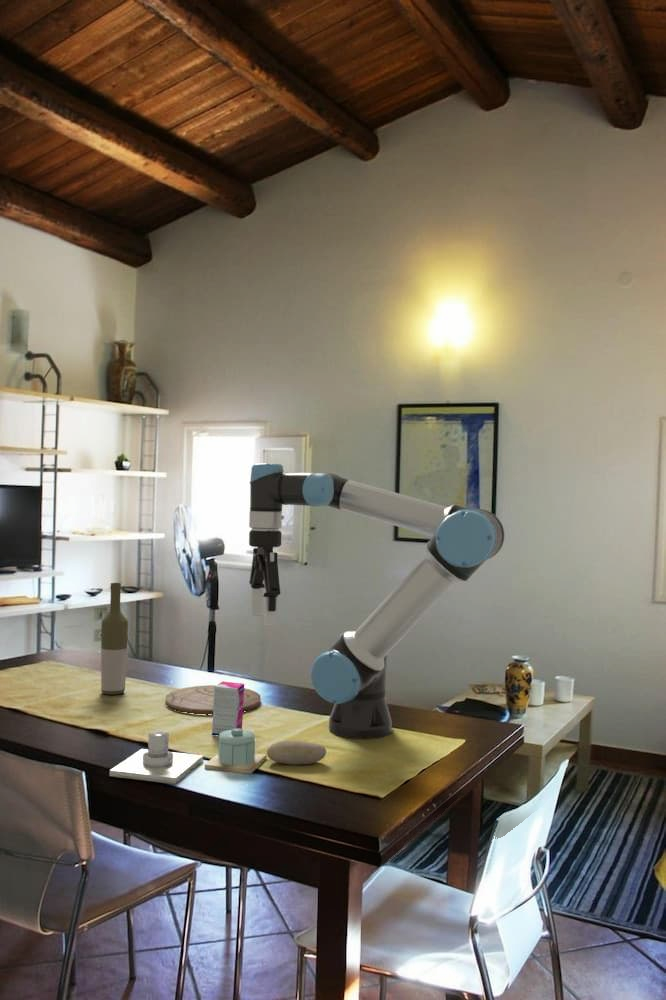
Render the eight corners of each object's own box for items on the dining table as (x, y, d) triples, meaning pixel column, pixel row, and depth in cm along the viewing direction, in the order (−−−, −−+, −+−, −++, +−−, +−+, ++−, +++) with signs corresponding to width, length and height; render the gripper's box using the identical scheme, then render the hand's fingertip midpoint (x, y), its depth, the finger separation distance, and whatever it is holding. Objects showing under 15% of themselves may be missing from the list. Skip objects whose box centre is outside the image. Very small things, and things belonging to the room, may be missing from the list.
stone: (264, 746, 179) (317, 728, 182) (272, 776, 178) (326, 758, 180) (265, 746, 174) (320, 727, 176) (274, 776, 172) (329, 757, 175)
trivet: (222, 722, 206) (222, 715, 206) (145, 706, 218) (145, 699, 218) (278, 701, 227) (279, 694, 227) (205, 687, 240) (205, 681, 240)
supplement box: (235, 738, 193) (237, 688, 193) (211, 735, 194) (212, 686, 194) (243, 730, 199) (244, 682, 198) (219, 728, 200) (220, 680, 199)
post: (203, 761, 176) (203, 728, 176) (175, 784, 163) (176, 748, 163) (141, 754, 180) (142, 721, 179) (109, 776, 166) (110, 741, 166)
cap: (257, 764, 173) (258, 734, 173) (221, 766, 171) (222, 736, 171) (250, 752, 180) (251, 724, 180) (215, 754, 178) (216, 725, 178)
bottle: (131, 693, 230) (134, 583, 229) (109, 697, 224) (112, 585, 224) (116, 688, 234) (119, 581, 234) (94, 692, 229) (97, 583, 228)
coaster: (266, 758, 179) (266, 754, 179) (251, 773, 170) (251, 769, 170) (222, 753, 182) (222, 749, 182) (204, 768, 172) (204, 764, 172)
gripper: (295, 533, 185) (293, 629, 186) (268, 526, 209) (266, 611, 209) (262, 532, 183) (259, 630, 183) (238, 526, 207) (236, 612, 207)
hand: (263, 620), depth 196 cm, fingers open, 13 cm apart
